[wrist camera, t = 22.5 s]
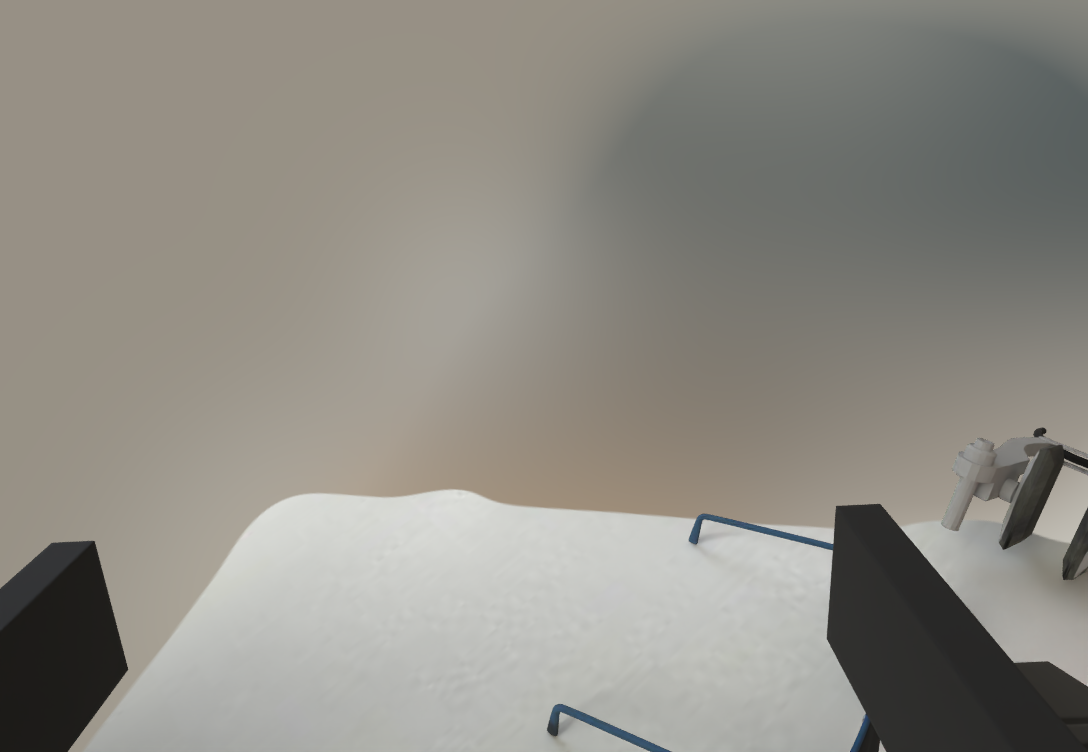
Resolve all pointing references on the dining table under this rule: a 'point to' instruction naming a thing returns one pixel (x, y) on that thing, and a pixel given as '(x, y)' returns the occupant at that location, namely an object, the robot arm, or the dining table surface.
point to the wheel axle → (1018, 488)
